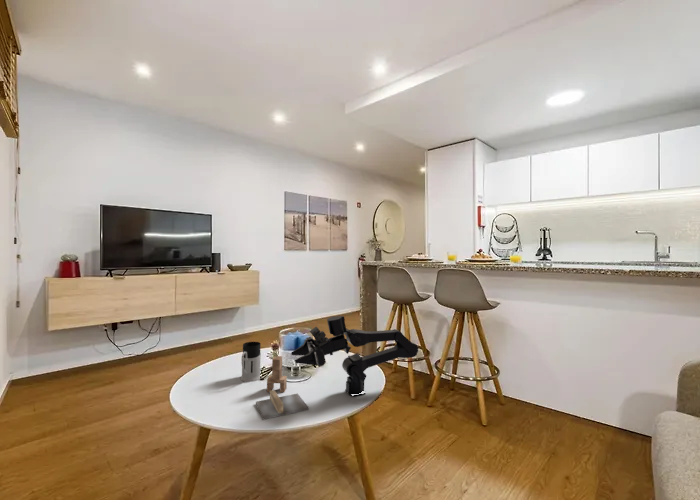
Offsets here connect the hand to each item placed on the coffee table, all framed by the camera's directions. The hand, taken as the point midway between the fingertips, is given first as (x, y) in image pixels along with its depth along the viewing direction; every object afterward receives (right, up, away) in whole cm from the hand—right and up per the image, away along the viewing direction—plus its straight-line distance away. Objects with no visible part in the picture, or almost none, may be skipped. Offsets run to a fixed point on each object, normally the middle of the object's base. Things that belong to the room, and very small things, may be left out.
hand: (293, 357), depth 124 cm
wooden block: (-8, -16, +9) cm, 21 cm away
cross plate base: (-3, -16, -5) cm, 17 cm away
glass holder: (-23, -16, +19) cm, 34 cm away
